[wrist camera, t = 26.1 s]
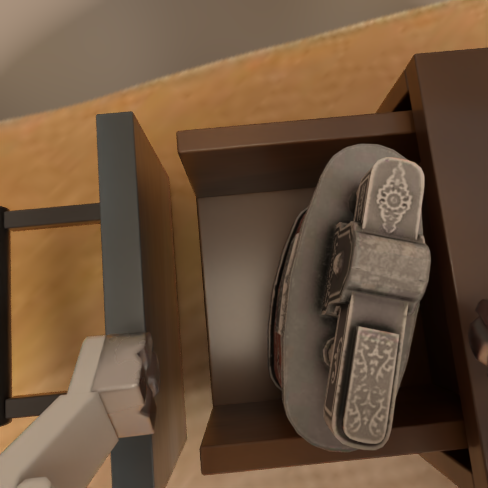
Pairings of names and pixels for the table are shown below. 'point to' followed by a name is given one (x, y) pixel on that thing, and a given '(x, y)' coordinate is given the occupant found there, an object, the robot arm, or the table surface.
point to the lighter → (349, 299)
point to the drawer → (231, 290)
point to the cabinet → (455, 221)
